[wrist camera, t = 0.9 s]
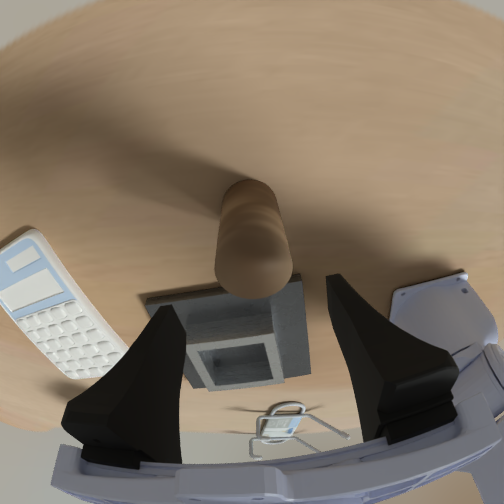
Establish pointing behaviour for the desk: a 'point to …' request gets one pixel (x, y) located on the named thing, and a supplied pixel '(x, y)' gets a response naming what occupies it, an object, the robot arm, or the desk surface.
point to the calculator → (55, 309)
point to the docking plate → (241, 336)
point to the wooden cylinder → (252, 242)
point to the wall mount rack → (285, 428)
